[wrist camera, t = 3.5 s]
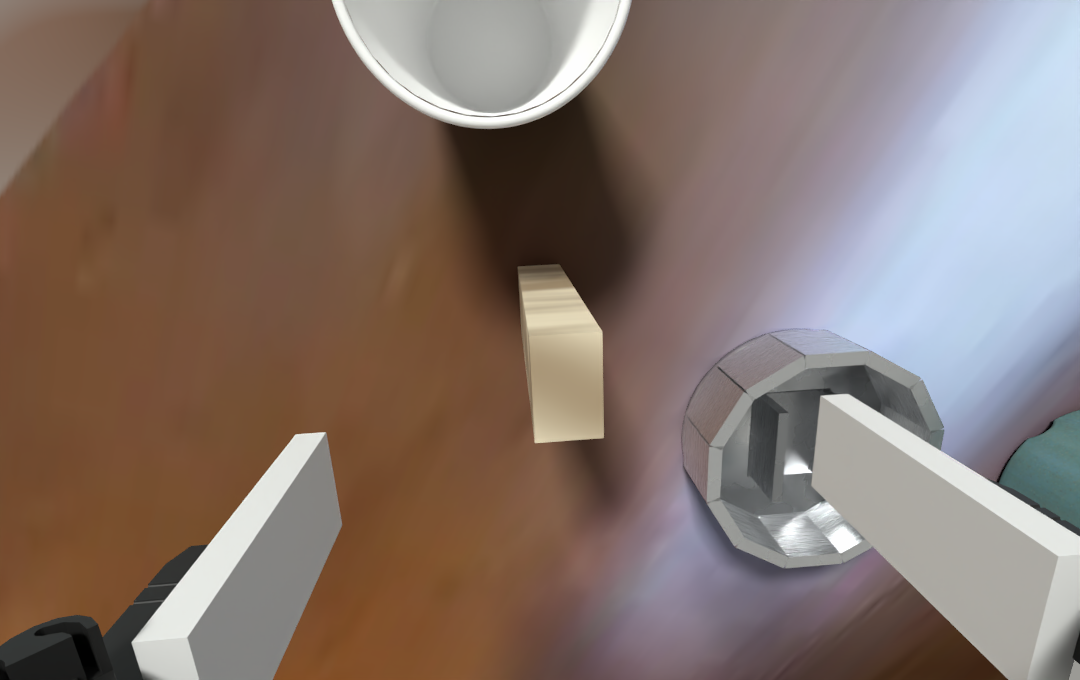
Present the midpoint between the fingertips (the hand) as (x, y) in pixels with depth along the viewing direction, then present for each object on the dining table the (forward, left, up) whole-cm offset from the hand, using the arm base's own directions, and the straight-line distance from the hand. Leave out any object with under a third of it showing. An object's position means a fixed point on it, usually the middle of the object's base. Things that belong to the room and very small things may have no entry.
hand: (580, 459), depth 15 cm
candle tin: (+10, +16, -20) cm, 27 cm away
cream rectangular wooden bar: (0, 0, -20) cm, 20 cm away
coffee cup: (-14, -2, -20) cm, 25 cm away
